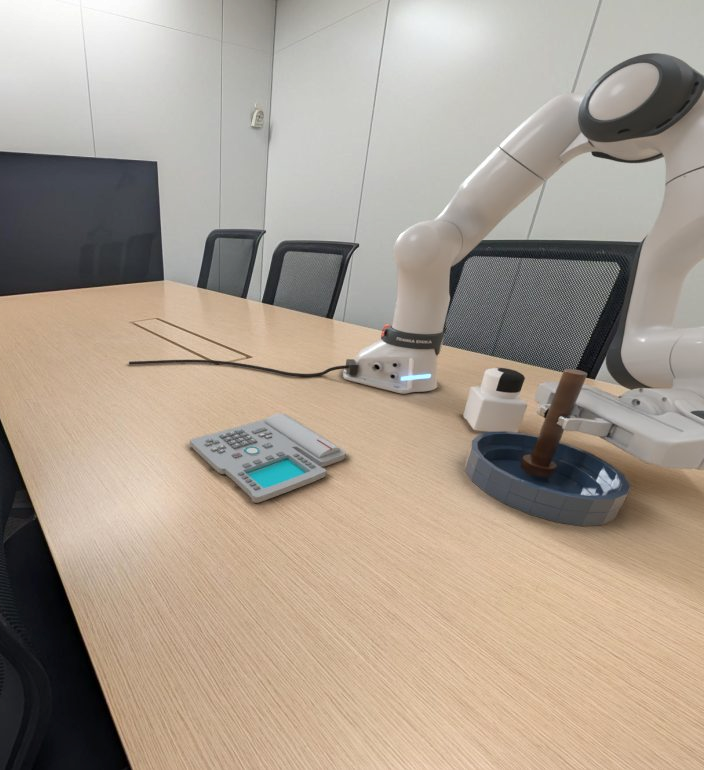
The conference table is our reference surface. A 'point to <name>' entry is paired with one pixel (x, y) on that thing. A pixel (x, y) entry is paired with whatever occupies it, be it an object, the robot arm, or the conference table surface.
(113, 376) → the conference table surface
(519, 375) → the medicine bottle
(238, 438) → the office telephone
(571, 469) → the bowl
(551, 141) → the robot arm
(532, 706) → the conference table surface
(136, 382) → the conference table surface
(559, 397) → the stirring stick
